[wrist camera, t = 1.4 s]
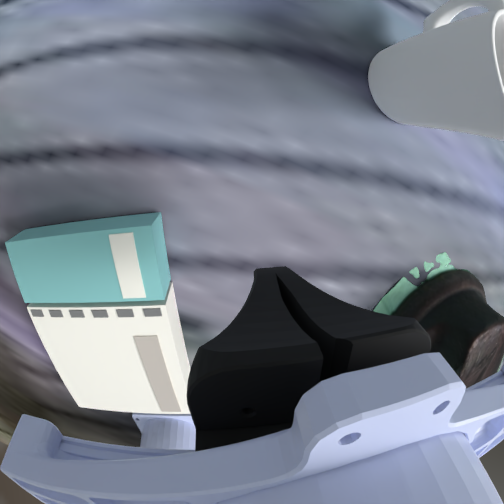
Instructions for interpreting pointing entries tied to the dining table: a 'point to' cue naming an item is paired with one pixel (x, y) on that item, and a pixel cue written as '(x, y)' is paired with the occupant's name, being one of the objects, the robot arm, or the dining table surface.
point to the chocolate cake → (452, 318)
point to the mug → (446, 72)
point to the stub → (92, 261)
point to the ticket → (118, 353)
